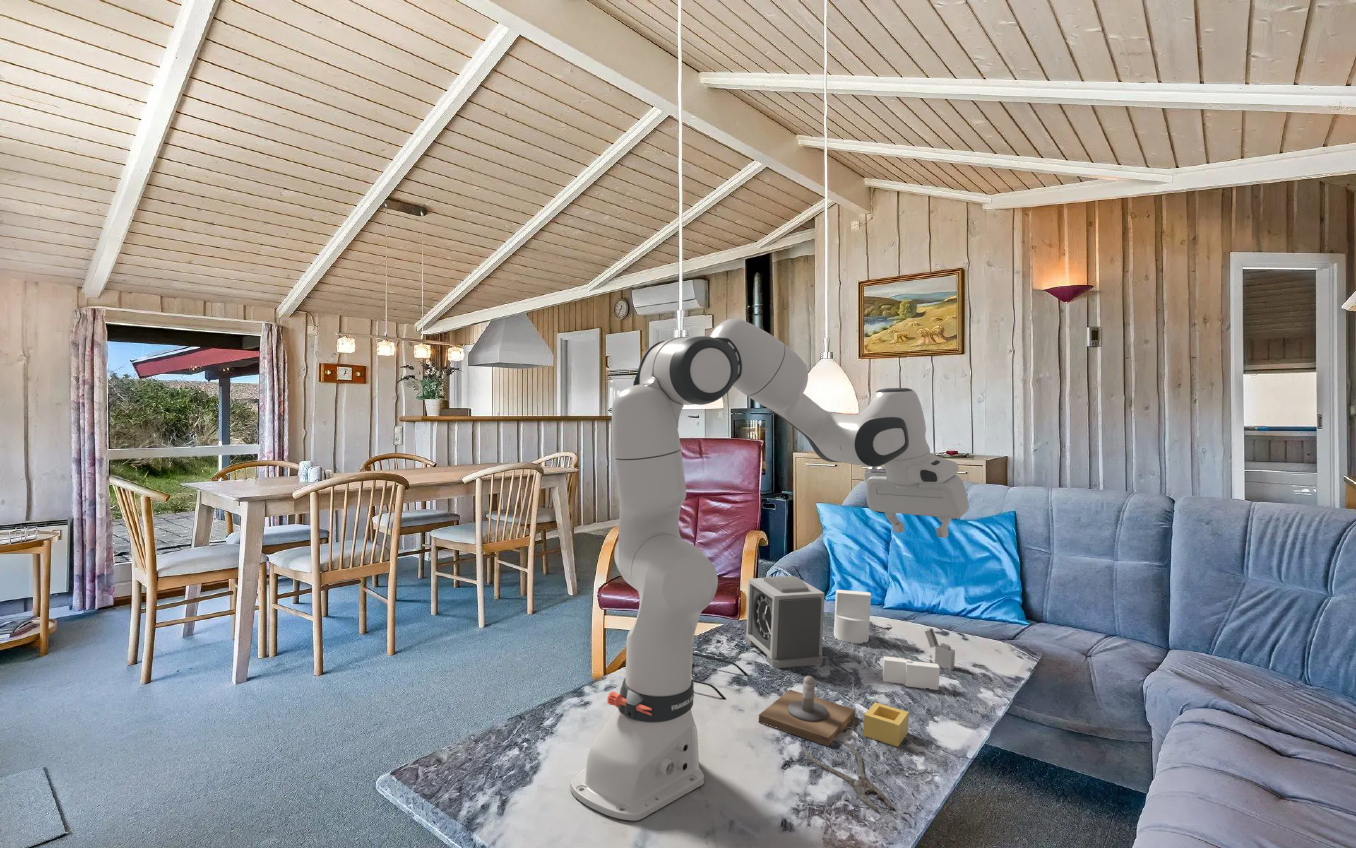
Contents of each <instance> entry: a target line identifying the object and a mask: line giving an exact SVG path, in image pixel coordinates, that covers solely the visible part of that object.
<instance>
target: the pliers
mask: <svg viewBox="0 0 1356 848" xmlns="http://www.w3.org/2000/svg"><path fill="white" fill-rule="evenodd" d="M843 745H844V746H846V747H847V748H849V749H850V750H851V751H852V752H853V754H854V755H855V757H856V759H857V778H858V779H855V778H852V777H850V776H848V775H847V774H845V773H842V772H840V771H839V770H837V769H834V768H832V767H830V766H828V765H826V764H824V763H822V762H820V761H819V760H817V759H816V758H814V757H813V756H812V755H811V754H810V752H809V751H808V749H807V748H806V746H805V745H804V746H802V751H803V753H804V754H805V756H806V757H807V759H809V760H810V761H811V762H812V763H814V764H815V765H816V766H818V767H819V768H821V769H823V770H825V771H827V772H829V773H831V774H833V775H835V776H836V777H838V778H839V779H840V778H841V779H842V780H843V781H845V782H846V783H848V785H849V786H851V788H852V789H853V790H854V792H855V793H856V795H857V797H858V798H859V800H860V801H861V802H862V803H863V804H864V805H866V806H867V807H868V808H869V809H871V810H872V811H874V813H878V808H877V806H876V804H875V802H873V801H872V800H871V796H869V795H867V794H871V795H875V796H876V799H877V800H878V801H880V802H881V803H883V804H884V805H885V806H886V807H887V808H888V809H889V810H891V811H893V810H894V805H892V803H891V802H890V800H889V798H887V796H886V795H885V793H884V792H882V791H881V790H880V789H879V788H878V787H877V786H876V785H875V784H873V783H872V782H871V780H870V779H869V778H868V777H866V774H865V771H864V760H863V757H862V755H861V754H860V753H859V752H858V751H857V749H856V748H855V747H853V745H852V744H850V743H848V742H847V741H843Z"/></svg>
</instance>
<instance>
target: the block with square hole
mask: <svg viewBox="0 0 1356 848" xmlns="http://www.w3.org/2000/svg"><path fill="white" fill-rule="evenodd" d="M909 714H910V712H909V711H905V710H903V709H900V708H897V707H894V706H891V705H886V704H883V703H879V702H874V703H873V704H872V705H871V706H870V707H869V709H868V710H867V711H866V712H865V713H864V714H863V715H864V717H863V732H862V733H863V734H862V735H863V737H866V738H870V739H873V740H875V741H879V742H881V743H885V744H888V745H891V746H894V747H897V748H899V746H900V745H901V743H902V742H903V740H904V739H905V737H906V736H907V734H908V733H909V731H908V730H909V719H910V718H909V716H910V715H909Z"/></svg>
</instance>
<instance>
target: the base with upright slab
mask: <svg viewBox="0 0 1356 848" xmlns="http://www.w3.org/2000/svg"><path fill="white" fill-rule="evenodd" d="M871 598H872V593H871V592H869V591H860V590H845V589H835V602H834V603H835V604H834V621H833V622H834V625H833V636H834V638H835V639H836V638H837V639H836V640H839V641H841V640H842V641H841V642H843V641H844V643H848V642H851V643H850V644H864V643H863V642H865V643H867V642H869V640H870V639H869V637H870V622H871V621H870V619H871V618H870V617H871V600H872V599H871Z"/></svg>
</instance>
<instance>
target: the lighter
mask: <svg viewBox="0 0 1356 848" xmlns="http://www.w3.org/2000/svg"><path fill="white" fill-rule="evenodd" d="M924 633H925V637H926V639H927V642H928V644H929V647H930V648H935V652H934V654H935V655H934V663H935V664H938V665H939V667H941V666H943V667H942V668H944V667H945V668H944V669H947V668H948V669H947V670H950V669H952V670H954V669H955V662H956V661H955V659H956V658H955V657H956V650H955V649H952V647H951V646H950V644H947V643H944V642H941V643H940V644H939V642H938V639H937V636H936V634H935V632H934V628H933V627H930V628H927V629H924Z"/></svg>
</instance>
